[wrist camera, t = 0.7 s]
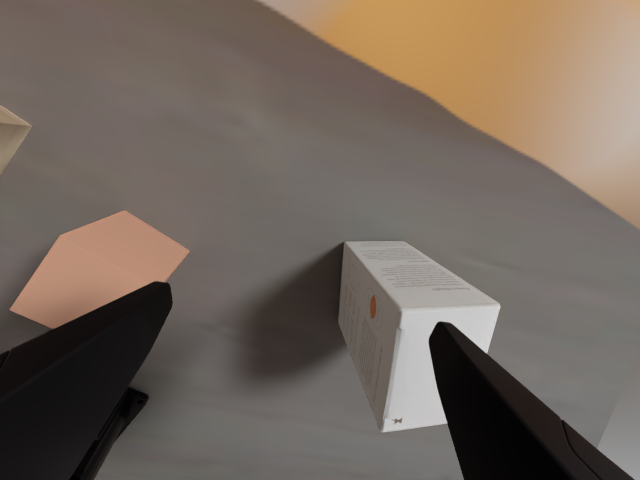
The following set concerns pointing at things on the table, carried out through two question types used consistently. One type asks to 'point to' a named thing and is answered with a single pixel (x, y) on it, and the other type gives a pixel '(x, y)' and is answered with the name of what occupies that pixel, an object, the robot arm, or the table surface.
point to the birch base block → (10, 135)
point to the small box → (404, 326)
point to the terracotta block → (97, 268)
